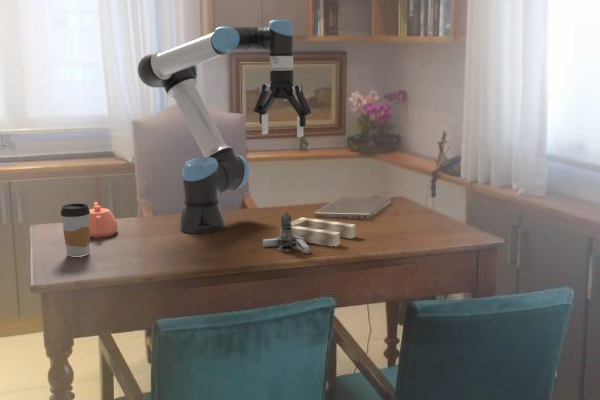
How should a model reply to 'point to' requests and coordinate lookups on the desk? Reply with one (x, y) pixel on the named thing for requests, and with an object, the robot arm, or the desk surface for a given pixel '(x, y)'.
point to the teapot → (101, 222)
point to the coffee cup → (76, 228)
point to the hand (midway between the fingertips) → (282, 135)
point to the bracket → (322, 231)
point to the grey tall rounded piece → (286, 234)
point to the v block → (299, 243)
